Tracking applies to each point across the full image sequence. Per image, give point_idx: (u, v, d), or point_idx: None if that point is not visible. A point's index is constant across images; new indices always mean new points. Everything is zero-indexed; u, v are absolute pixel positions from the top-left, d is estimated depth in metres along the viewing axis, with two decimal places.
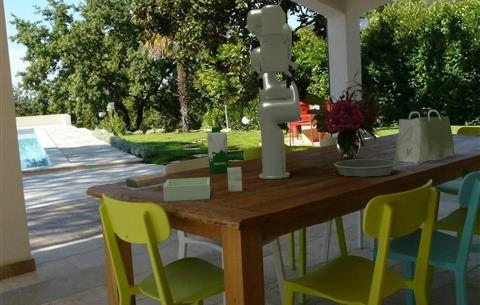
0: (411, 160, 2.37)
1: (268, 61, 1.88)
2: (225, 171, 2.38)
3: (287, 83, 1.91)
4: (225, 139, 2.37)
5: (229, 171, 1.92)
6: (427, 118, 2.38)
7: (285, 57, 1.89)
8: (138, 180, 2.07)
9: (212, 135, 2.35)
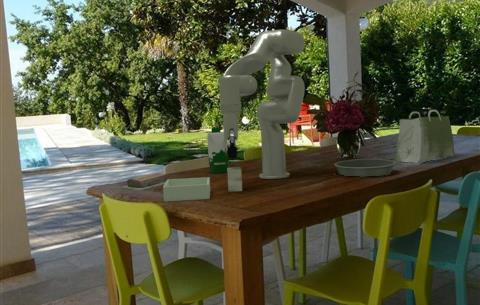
0: (412, 160, 2.37)
1: None
2: (225, 171, 2.38)
3: None
4: None
5: (229, 171, 1.92)
6: (428, 118, 2.38)
7: None
8: (141, 180, 2.07)
9: (212, 135, 2.35)
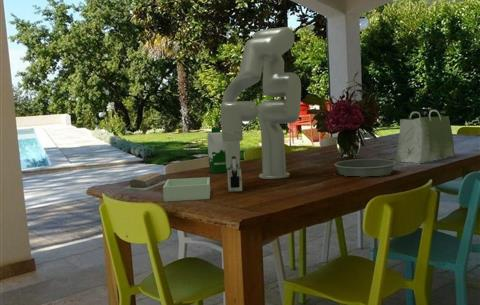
0: (412, 160, 2.36)
1: None
2: (225, 171, 2.38)
3: None
4: None
5: (229, 171, 1.92)
6: (428, 118, 2.38)
7: None
8: (145, 180, 2.07)
9: (212, 135, 2.35)
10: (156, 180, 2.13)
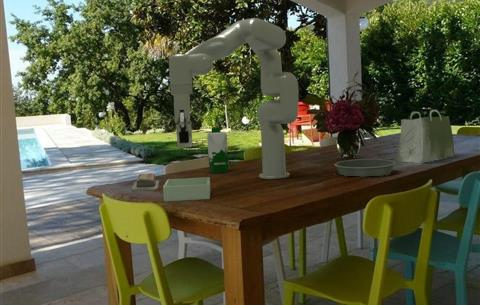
0: (414, 160, 2.36)
1: (189, 111, 1.83)
2: (225, 171, 2.38)
3: None
4: (225, 139, 2.37)
5: (178, 126, 1.84)
6: (429, 118, 2.38)
7: None
8: (152, 179, 2.08)
9: (212, 135, 2.35)
10: None
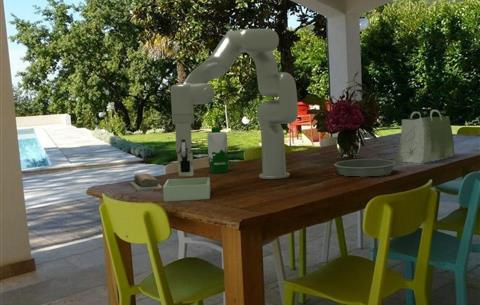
0: (414, 160, 2.36)
1: (190, 140, 1.84)
2: (225, 171, 2.38)
3: None
4: (225, 139, 2.37)
5: (179, 155, 1.85)
6: (430, 118, 2.37)
7: None
8: None
9: (212, 135, 2.35)
10: None
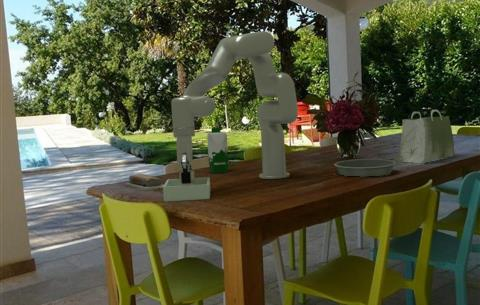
0: (415, 160, 2.35)
1: (191, 153, 1.85)
2: (225, 171, 2.38)
3: None
4: (225, 139, 2.37)
5: None
6: (430, 118, 2.37)
7: None
8: (158, 178, 2.10)
9: (212, 135, 2.35)
10: None
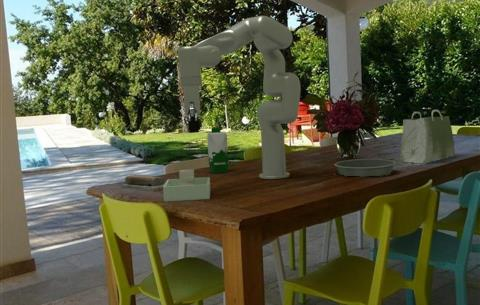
0: (416, 160, 2.35)
1: (199, 103, 1.84)
2: (225, 171, 2.38)
3: (197, 125, 1.92)
4: (225, 139, 2.37)
5: (181, 173, 1.86)
6: (431, 118, 2.37)
7: None
8: None
9: (212, 135, 2.35)
10: None
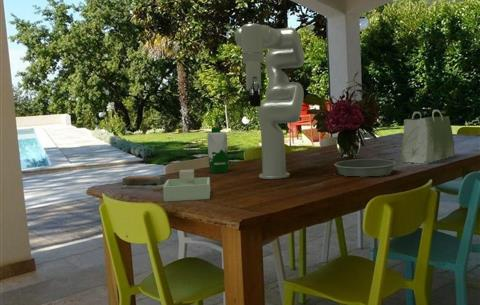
0: (417, 160, 2.35)
1: None
2: (225, 171, 2.38)
3: None
4: (225, 139, 2.37)
5: (181, 173, 1.86)
6: (432, 118, 2.37)
7: None
8: None
9: (212, 135, 2.35)
10: None
